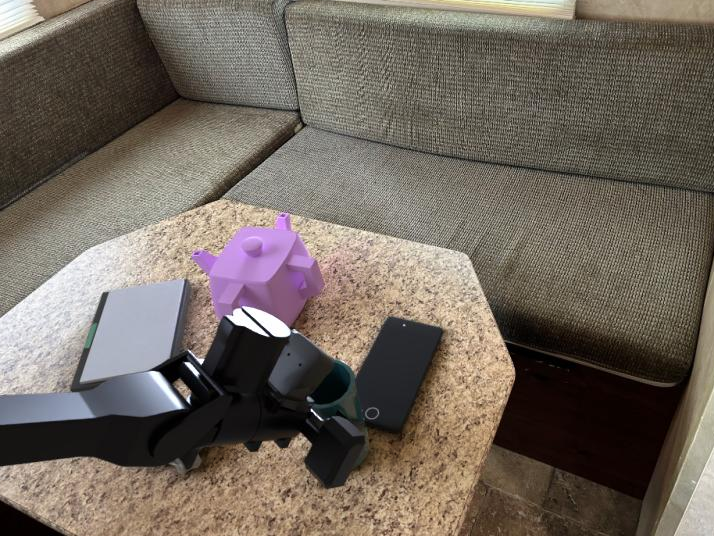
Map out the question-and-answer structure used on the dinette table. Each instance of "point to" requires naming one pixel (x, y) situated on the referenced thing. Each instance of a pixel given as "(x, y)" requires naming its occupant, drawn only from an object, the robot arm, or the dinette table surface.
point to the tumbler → (340, 399)
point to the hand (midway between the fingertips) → (343, 408)
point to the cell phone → (395, 372)
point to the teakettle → (262, 272)
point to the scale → (133, 332)
